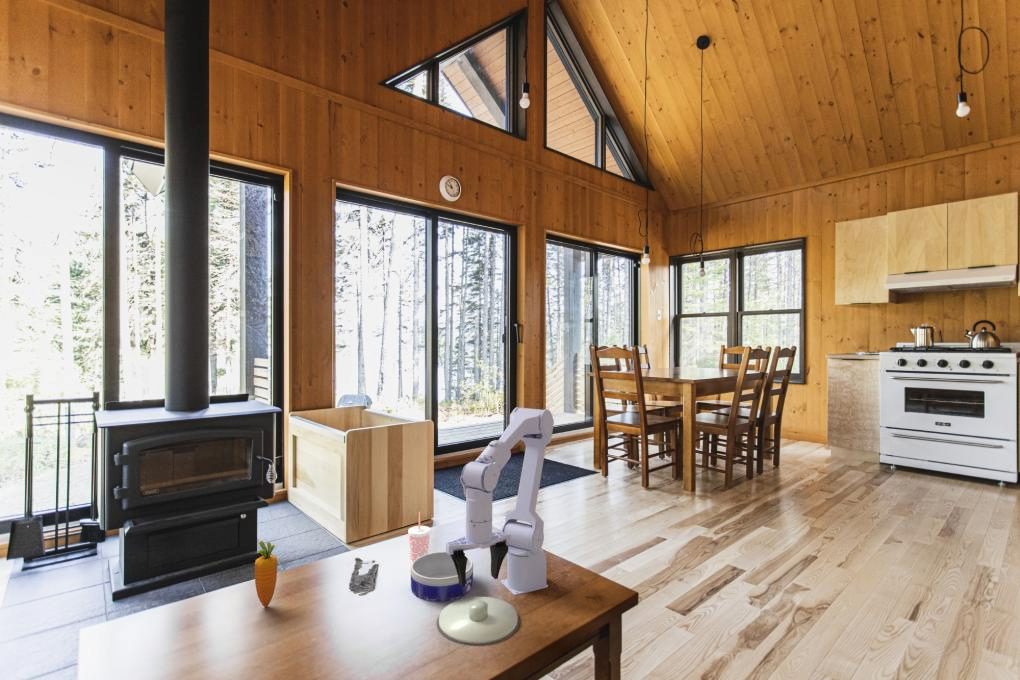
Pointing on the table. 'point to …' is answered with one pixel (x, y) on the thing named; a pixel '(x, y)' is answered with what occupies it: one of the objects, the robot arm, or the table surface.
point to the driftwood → (362, 578)
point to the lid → (478, 620)
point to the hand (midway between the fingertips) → (478, 580)
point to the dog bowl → (439, 578)
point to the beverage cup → (418, 541)
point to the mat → (477, 644)
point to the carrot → (265, 574)
